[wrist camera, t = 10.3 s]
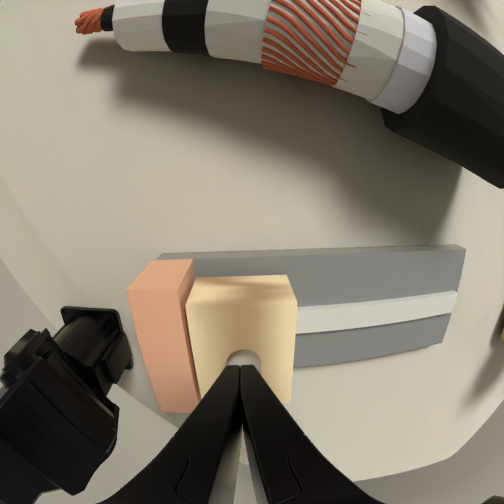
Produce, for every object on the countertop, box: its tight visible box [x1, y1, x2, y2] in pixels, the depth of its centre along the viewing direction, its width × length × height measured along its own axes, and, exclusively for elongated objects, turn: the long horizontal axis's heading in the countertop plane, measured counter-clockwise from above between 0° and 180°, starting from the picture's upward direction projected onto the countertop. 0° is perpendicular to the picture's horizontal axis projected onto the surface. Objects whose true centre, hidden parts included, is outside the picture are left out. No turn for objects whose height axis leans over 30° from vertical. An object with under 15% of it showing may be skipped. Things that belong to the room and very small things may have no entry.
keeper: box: [185, 275, 297, 403], centre depth 17 cm, size 6×8×5 cm
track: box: [126, 245, 466, 414], centre depth 19 cm, size 26×10×6 cm, turn 91°
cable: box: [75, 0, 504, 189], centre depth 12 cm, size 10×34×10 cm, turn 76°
